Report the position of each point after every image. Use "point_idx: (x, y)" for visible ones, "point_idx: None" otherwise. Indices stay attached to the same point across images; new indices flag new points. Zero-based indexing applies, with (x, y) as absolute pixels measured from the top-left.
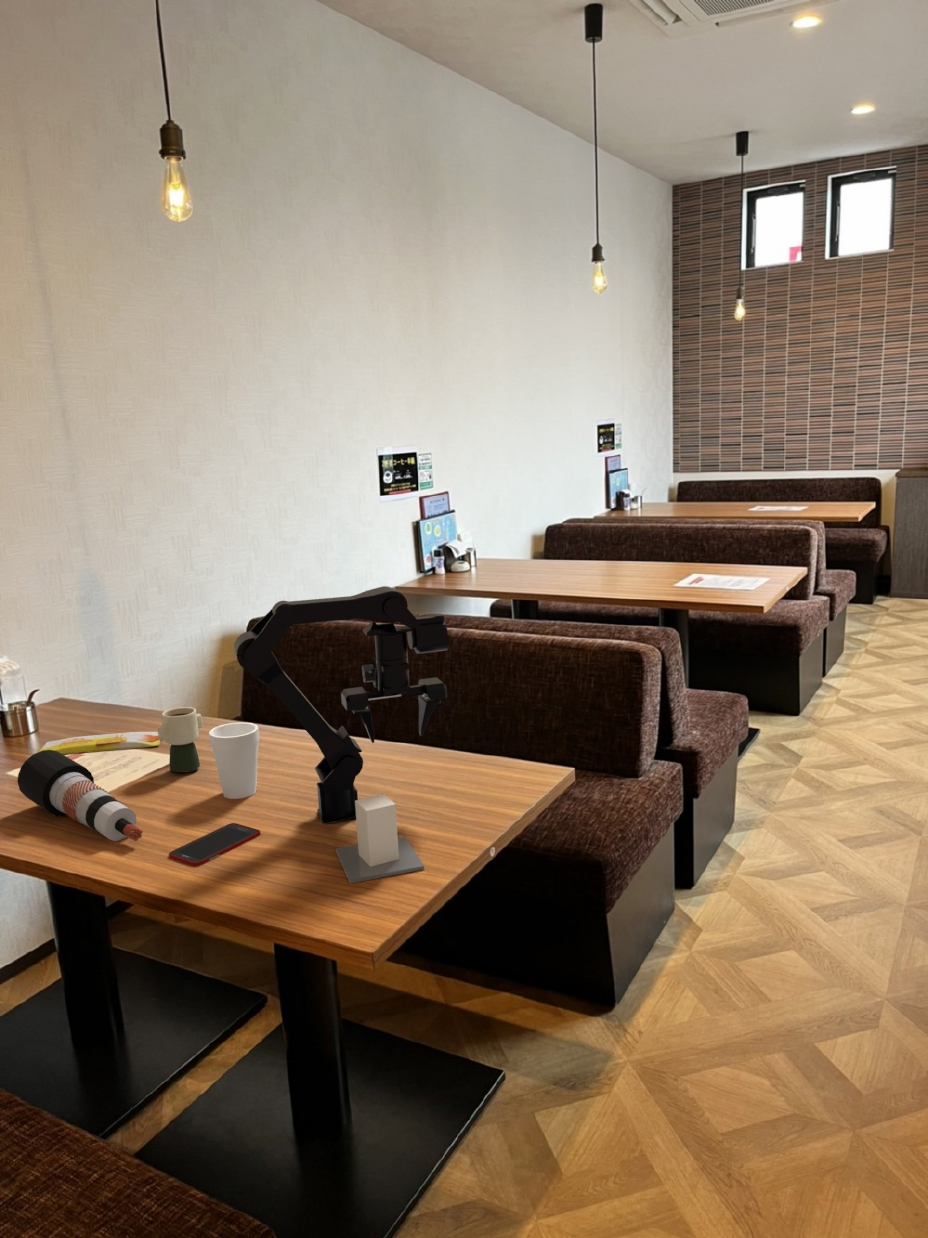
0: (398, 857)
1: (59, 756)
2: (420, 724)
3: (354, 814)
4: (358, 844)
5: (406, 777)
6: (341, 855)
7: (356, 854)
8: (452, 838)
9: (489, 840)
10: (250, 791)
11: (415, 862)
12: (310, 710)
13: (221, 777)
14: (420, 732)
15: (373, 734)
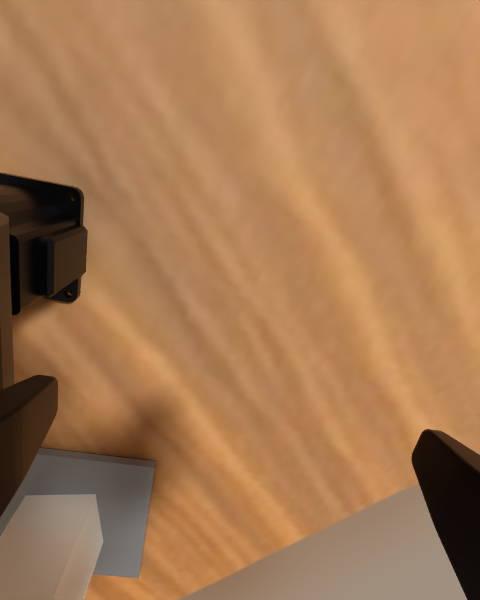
0: (101, 545)
1: None
2: (470, 539)
3: (68, 286)
4: (10, 521)
5: (375, 28)
6: None
7: (20, 491)
8: (249, 499)
9: (307, 535)
10: None
11: (128, 563)
12: None
13: None
14: (423, 478)
15: (3, 501)
